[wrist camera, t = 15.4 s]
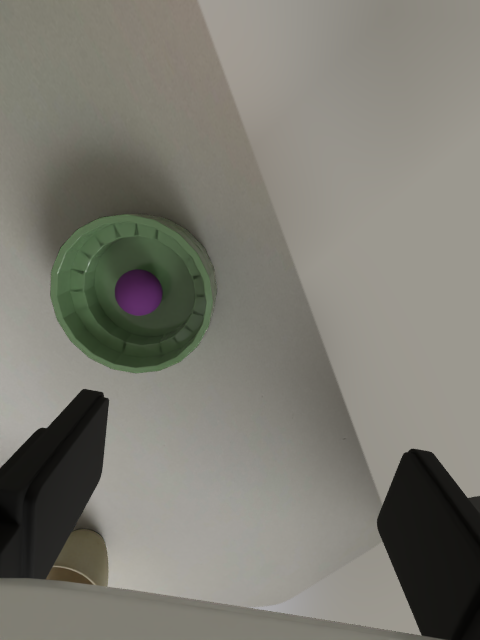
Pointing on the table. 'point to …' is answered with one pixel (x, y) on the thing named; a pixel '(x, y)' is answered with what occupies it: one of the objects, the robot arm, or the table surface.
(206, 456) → the table surface
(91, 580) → the flower pot
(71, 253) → the bowl
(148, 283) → the ball
